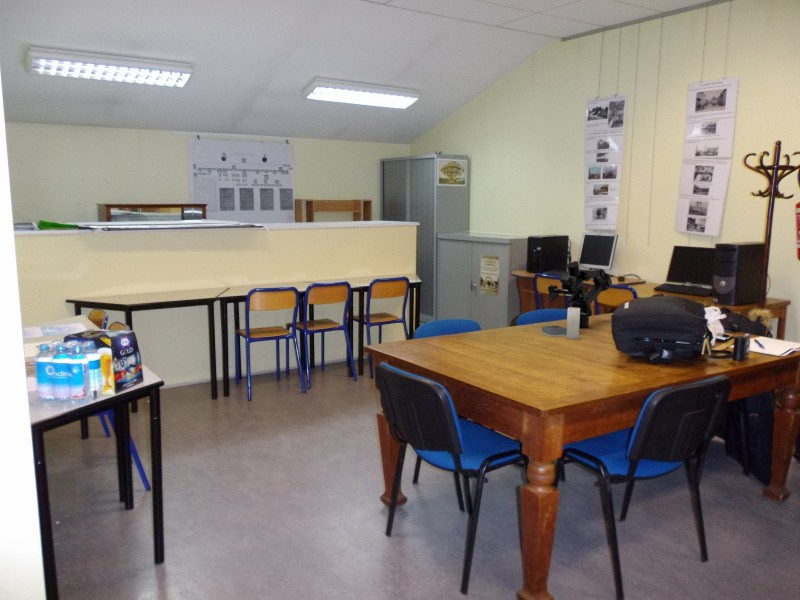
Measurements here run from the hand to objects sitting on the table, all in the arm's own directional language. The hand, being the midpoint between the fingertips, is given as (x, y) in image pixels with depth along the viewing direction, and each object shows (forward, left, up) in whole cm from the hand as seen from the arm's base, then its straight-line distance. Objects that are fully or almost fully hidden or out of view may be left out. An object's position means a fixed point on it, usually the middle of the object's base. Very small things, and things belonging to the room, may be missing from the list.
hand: (558, 301), depth 319 cm
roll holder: (+3, +3, -15) cm, 16 cm away
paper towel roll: (-1, +12, -15) cm, 20 cm away
